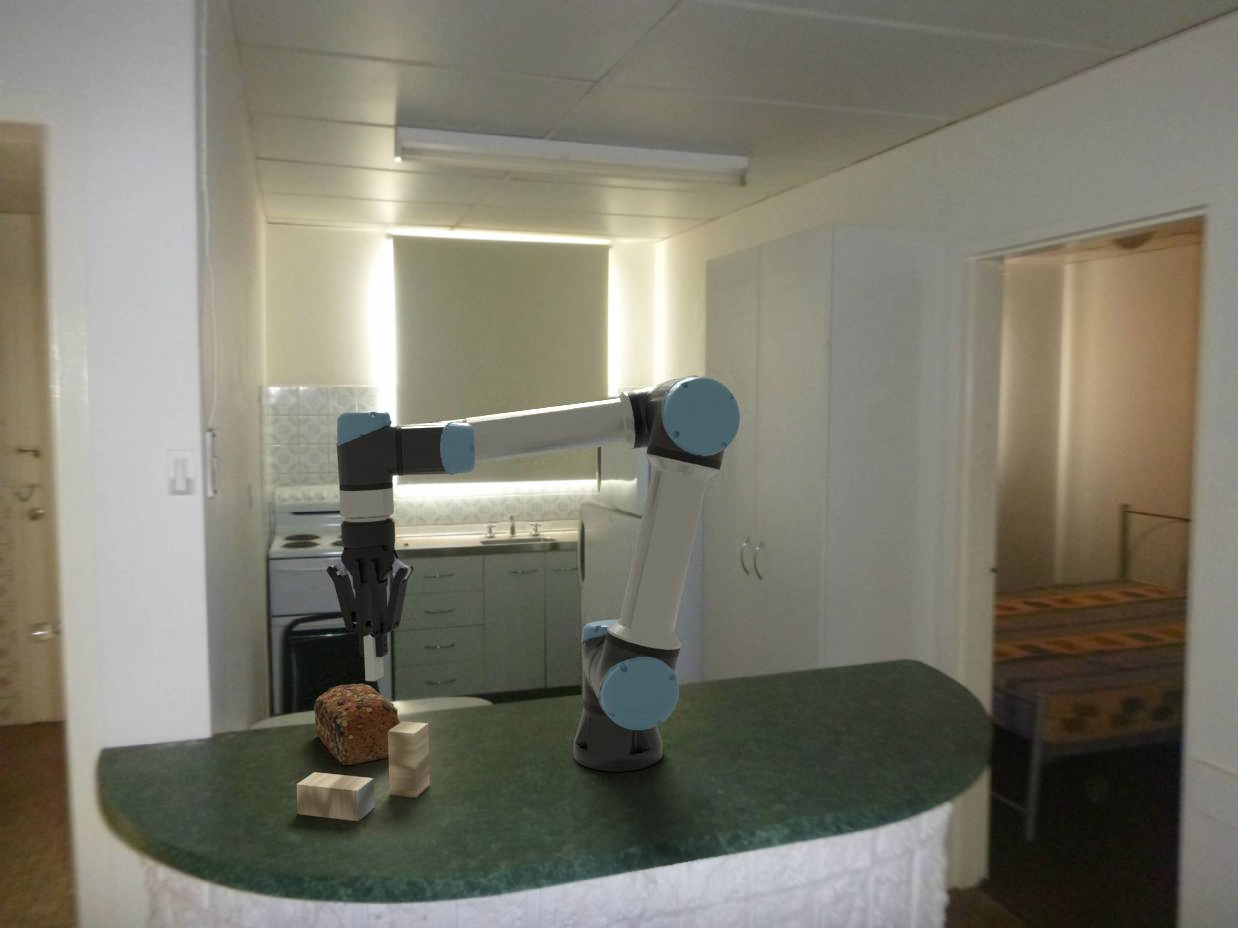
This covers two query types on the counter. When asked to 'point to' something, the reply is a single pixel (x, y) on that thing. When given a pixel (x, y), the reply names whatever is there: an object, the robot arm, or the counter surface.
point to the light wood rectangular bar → (335, 796)
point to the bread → (355, 723)
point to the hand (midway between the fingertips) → (374, 677)
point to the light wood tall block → (408, 759)
